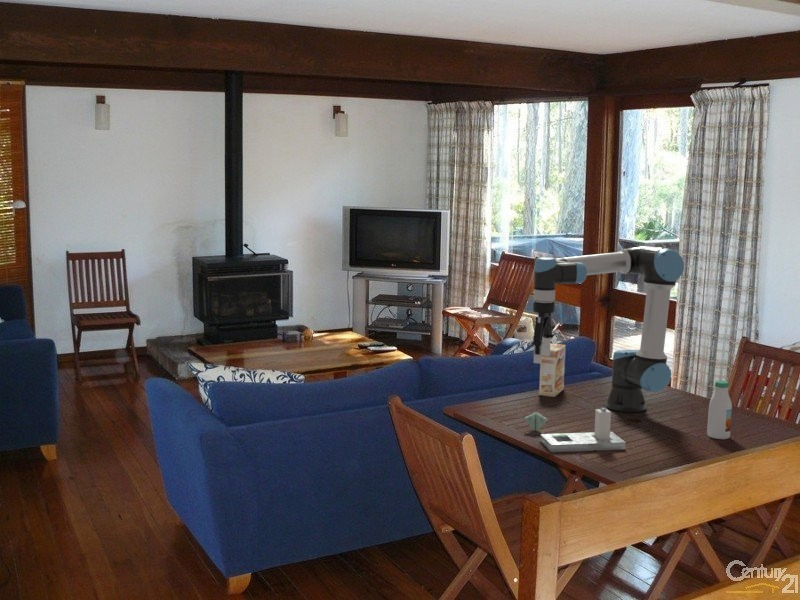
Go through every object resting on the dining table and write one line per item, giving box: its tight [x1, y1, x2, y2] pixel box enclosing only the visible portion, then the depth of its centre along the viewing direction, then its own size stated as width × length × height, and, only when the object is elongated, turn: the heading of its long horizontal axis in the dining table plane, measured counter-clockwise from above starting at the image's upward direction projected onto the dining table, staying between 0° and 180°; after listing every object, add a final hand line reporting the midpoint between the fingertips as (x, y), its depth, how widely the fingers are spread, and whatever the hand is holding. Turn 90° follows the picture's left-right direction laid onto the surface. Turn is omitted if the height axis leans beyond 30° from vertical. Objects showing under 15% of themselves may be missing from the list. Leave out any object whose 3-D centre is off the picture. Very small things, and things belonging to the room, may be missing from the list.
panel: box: [539, 431, 626, 453], centre depth 305 cm, size 26×12×3 cm, turn 99°
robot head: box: [524, 411, 548, 432], centre depth 321 cm, size 8×4×7 cm, turn 78°
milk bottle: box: [706, 380, 733, 440], centre depth 315 cm, size 8×8×20 cm
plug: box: [594, 407, 612, 440], centre depth 305 cm, size 4×4×13 cm
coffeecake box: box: [538, 342, 567, 398], centre depth 374 cm, size 15×7×20 cm, turn 155°
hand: (541, 359), depth 321 cm, fingers open, 13 cm apart
